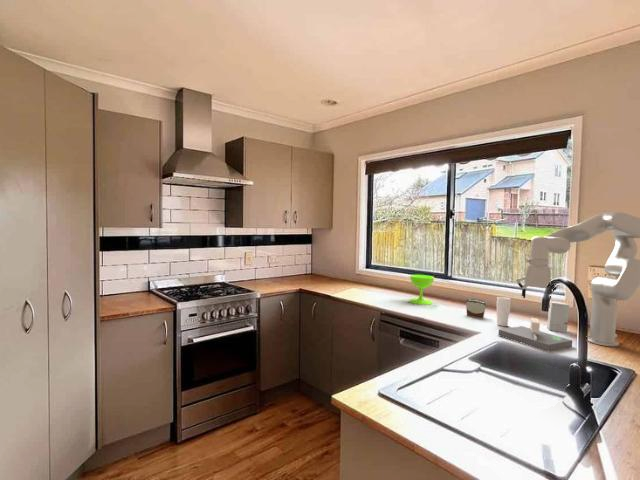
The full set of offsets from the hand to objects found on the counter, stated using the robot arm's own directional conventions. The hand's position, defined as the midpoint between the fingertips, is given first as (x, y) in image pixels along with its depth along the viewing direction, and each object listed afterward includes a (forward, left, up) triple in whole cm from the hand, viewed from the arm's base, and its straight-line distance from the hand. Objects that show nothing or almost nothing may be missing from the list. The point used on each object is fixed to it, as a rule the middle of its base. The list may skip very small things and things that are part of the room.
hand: (535, 299), depth 170 cm
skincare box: (-32, -7, -20) cm, 39 cm away
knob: (+2, +2, -17) cm, 17 cm away
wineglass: (-9, -85, -20) cm, 88 cm away
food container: (-14, -43, -20) cm, 50 cm away
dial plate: (0, 0, -20) cm, 20 cm away
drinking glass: (-11, -24, -20) cm, 34 cm away
